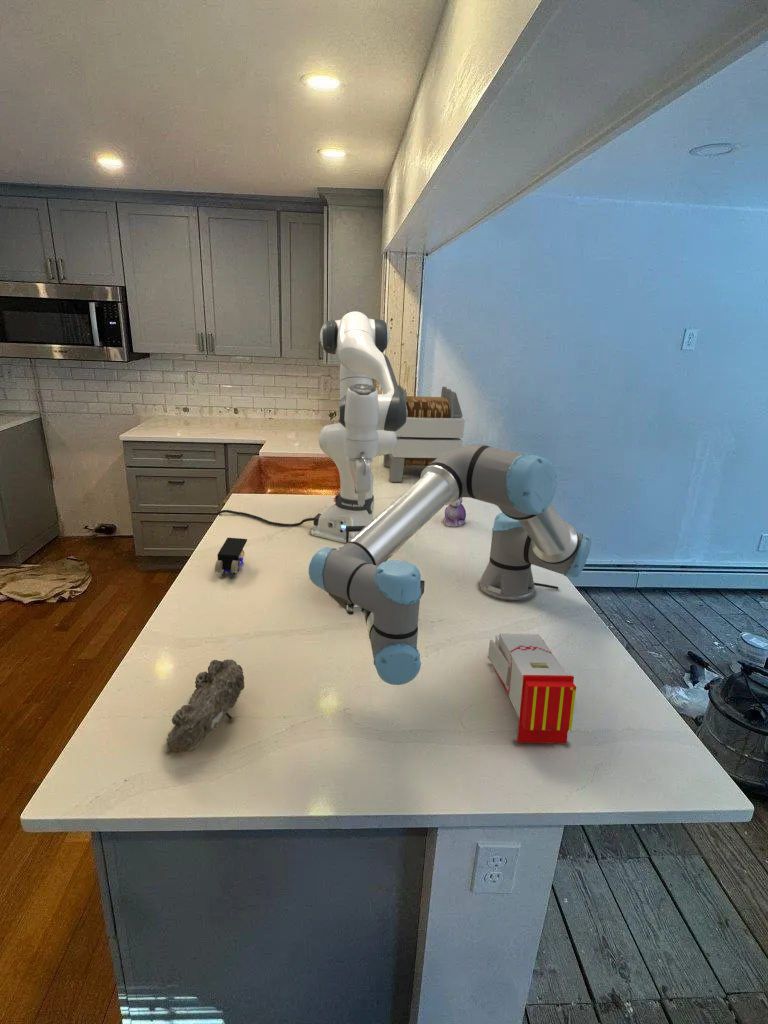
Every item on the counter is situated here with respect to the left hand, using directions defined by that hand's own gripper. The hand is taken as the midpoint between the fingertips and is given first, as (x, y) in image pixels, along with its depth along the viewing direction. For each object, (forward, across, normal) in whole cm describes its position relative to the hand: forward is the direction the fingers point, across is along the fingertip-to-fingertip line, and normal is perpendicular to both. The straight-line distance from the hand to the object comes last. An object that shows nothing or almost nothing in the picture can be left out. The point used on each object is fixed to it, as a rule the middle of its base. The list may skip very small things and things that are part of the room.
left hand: (359, 498), depth 153 cm
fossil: (+26, -53, +33) cm, 67 cm away
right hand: (+6, -32, 0) cm, 32 cm away
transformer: (+26, +115, -42) cm, 125 cm away
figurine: (+26, +48, -41) cm, 68 cm away
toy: (+26, -52, -30) cm, 65 cm away
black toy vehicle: (+26, +12, +36) cm, 46 cm away
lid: (+17, -5, 0) cm, 17 cm away
